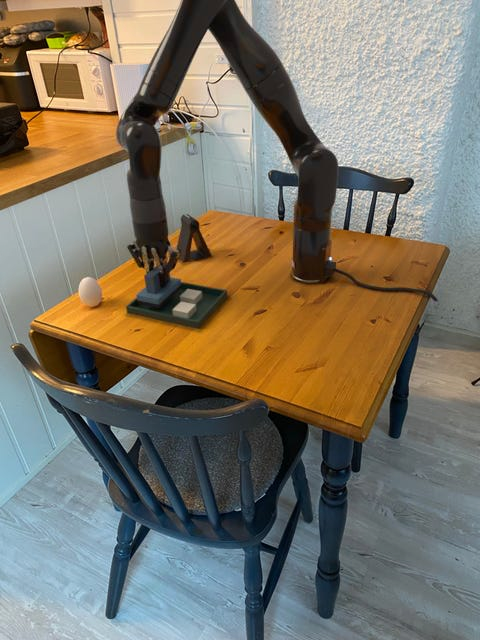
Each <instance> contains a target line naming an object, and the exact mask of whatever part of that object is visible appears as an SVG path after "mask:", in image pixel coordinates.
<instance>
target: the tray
mask: <svg viewBox="0 0 480 640" xmlns="http://www.w3.org/2000/svg"><path fill="white" fill-rule="evenodd" d="M181 287H182V288H181V289H180V290H179V291H178V292H176V293H175V294H174V295H173V296H172V297H171V298H170V299H169V300H168V301H167V302H166V303H165V304H163V305H162V306H161V307H160V308H155V307H151V306H146V305H141V304H138V302H137V297H135V298H134V299H132V301H130V302H129V303H127V304H126V305H125V309H126V314H129V315H134V316H138V317H143V318H147V319H153V320H156V321H161V322H164V323H170V324H173V325H177V326H183V327H186V328H187V327H188V328H191V329H196V330H200V329H201V328H202V327H203V326H204V324H205V323H206V322H207V321H208V320H209V319H210V318H211V316H212V315H213V314H214V313H215V312H216V311H217V310H218V309H219V307H220V306H221V305H222V304H223V303H224V302H225V300H227V298H228V295H229V294H228V290H227V289H222V288H217V287H212V286H206V285H200V284H195V283H190V282H185V281H181ZM187 289H192V290H197V291H202V299H201V300H200V301H199V302H198V303H197V304H196V312H195V313H194V314H193V315H192V316H191V317H190V318H189V319H188V318H183V317H179V316H174V315H173V309H174V308H175V307H176V306H177V305H178V304H179V303H180V296H181V295H182V294H183V293H184V292H185V291H186V290H187Z"/></svg>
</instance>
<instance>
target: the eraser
mask: <svg viewBox="0 0 480 640" xmlns="http://www.w3.org/2000/svg"><path fill="white" fill-rule="evenodd" d="M143 276H144V283H145V286H144V287H143V289H141V290H140V291H138V293H136V295H135V296H136V298H137V302H138V304H141V305H146V306H151V307H155V308H160V307H161V306H162V305H163V304H165V303H166V302H167V301H168V300H169V299H170V298H171V297H172V296H173V295H174V294H175V293H176V292H178V291H179V290H180V289H181V288H182V287H181V282H182V280H181V278H177V277H171V272H170V273H168V278H169V283H168V284H167V285H166V286H165V287H164V288H163V287H161V286H160V279H159V270H158V266H157V265H155V266H154V267H153V269H152V270H150V271H149V272H148V273H145V274H143Z"/></svg>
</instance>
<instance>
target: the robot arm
mask: <svg viewBox="0 0 480 640" xmlns="http://www.w3.org/2000/svg"><path fill="white" fill-rule="evenodd" d="M208 31H209V32H210V34H211V35H212V37H213V38H214V40H215V41H216V42H217V44H218V45H219V47H220V49H221V51H222V53H223V54H224V57H225V58H226V60H227V62H228V64H229V66H230V67H231V69H232V70H233V72H234V74H235V76H236V78H237V79H238V80H239V82H240V84H241V86H242V88H243V89H244V91H245V93H246V95H247V97H248V98H249V99H250V101H251V103H252V104H253V106H254V108H255V109H256V111H257V112H258V113H259V115H260V116H261V117H262V118H263V120H264V122H266V124H267V125H268V126H269V128H271V130H272V131H273V132H274V134H275V135H276V137H277V138H278V139H279V141H280V143H281V145H282V147H283V149H284V150H285V153H286V155H287V157H288V159H289V163H290V164H291V166H292V169H293V171H294V174H295V175H296V176H297V195H296V196H297V197H296V198H297V199H296V200H295V201H294V204H293V227H292V228H293V229H292V230H293V231H292V258H291V277H292V278H293V279H294V280H295V281H297V282H300V283H304V284H319V283H321V284H323V283H325V281H326V280H327V279H328V277H329V278H333V276H334V274H335V273H337V274H340V275H343V276H345V277H347V278H348V279H349V280H351V282H352V283H354V284H356V285H357V286H360V287H362V288H366V289H369V290H375V291H384V292H396V291H397V292H399V291H400V292H402V291H404V292H405V291H406V292H411V293H412V292H413V293H420V294H425V295H427V296H428V297H430V298H431V300H433V301H434V302H438V301H439V300H438V298H437V297H436V296H435V295H434V294H433V293H432V292H430V291H429V290H426V289H421V288H411V287H405V286H403V287H402V286H398V287H386V286H384V287H383V286H377V285H370V284H367V283H366V284H365V283H363V282H361V281H358V280H357V279H356V278H355V277H354V276H353V275H352V274H350V273H348V272H346V271H343V270H341V269H339V268H337V261H332V257H331V256H332V244H333V243H332V242H333V241H332V239H331V227H332V218H333V217H332V216H333V208H334V205H335V203H336V200H337V199H336V198H337V192H338V191H337V190H338V182H339V161H338V157H337V156H336V154H335V153H334V152H333V151H332V150H331V149H329V148H328V147H327V146H326V145H325V144H324V143H323V142H322V141H321V139H320V138H319V137H318V135H317V134H316V133H315V131H314V130H313V128H312V127H311V125H310V124H309V122H308V120H307V118H306V116H305V114H304V111H303V108H302V105H301V102H300V99H299V96H298V93H297V91H296V87H295V86H294V83H293V81H292V78H291V77H290V74H289V73H288V72H287V69H286V68H285V65H284V64H283V61H282V60H281V58H280V57H279V55H278V54H277V52H276V51H275V50H274V49H273V48H272V47H271V45H269V43H268V42H267V41H266V40H265V39H264V38H263V37H262V36H261V35H260V34H259V32H257V30H256V29H255V28H254V27H252V26H251V24H250V23H249V21H247V19H246V18H245V16H244V14H243V13H242V11H241V9H240V7H239V6H238V4H237V2H236V0H180V3H179V5H178V8H177V10H176V12H175V15H174V17H173V19H172V21H171V23H170V25H169V27H168V29H167V31H166V33H165V34H164V36H163V38H162V39H161V41H160V42H159V45H158V47H157V48H156V49H155V52H154V54H153V56H152V58H151V60H150V61H149V64H148V66H147V68H146V71H145V73H144V75H143V77H142V79H141V82H140V85H139V87H138V90H137V92H136V93H135V95H134V96H133V97H132V99H131V101H130V102H129V103H128V105H127V106H126V108H125V109H124V111H123V112H122V115H121V116H120V118H119V120H118V123H117V126H116V130H115V138H116V141H117V143H118V145H119V146H120V147H121V148H122V150H124V151H125V152H126V153H127V154H128V160H129V161H128V162H129V169H128V170H127V173H126V185H127V190H128V196H129V208H130V215H131V221H132V227H133V234H134V237H135V241H132V242H131V243H129V244H128V245H127V247H126V248H127V250H128V251H129V254H130V255H131V257H132V258H133V260H134V262H135V264H136V265H137V267H138V268H139V269H144V271H145V272H146V273H145V274H147V273H148V272H149V271H150V270H152V269H153V268H154V267H155V266H158V270H159V279H160V286H161V287H163V288H164V287H165V286H166V285H167V284H168V283H169V278H168V273H170V274H171V272H172V271H173V270H175V268H176V266H177V263H178V261H179V260H180V259H179V256H180V254H181V250H180V249H176V248H174V247H173V246H172V245H171V242H170V240H169V226H168V218H167V211H166V210H167V209H166V203H165V199H164V194H163V188H162V180H161V179H162V178H161V168H162V141H161V140H162V139H161V135H160V133H159V130H158V129H157V128H156V125H157V123H158V121H159V119H160V118H161V117H162V116H165V115H166V114H168V113H169V112H170V111H171V109H172V107H173V106H174V102H175V101H176V99H177V96H178V94H179V92H180V89H181V87H182V85H183V83H184V81H185V79H186V76H187V74H188V72H189V69H190V67H191V66H192V63H193V60H194V58H195V56H196V54H197V53H198V52H197V51H198V50H199V47H200V45H201V43H202V41H203V39H204V37H205V36H206V34H207V32H208Z"/></svg>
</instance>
